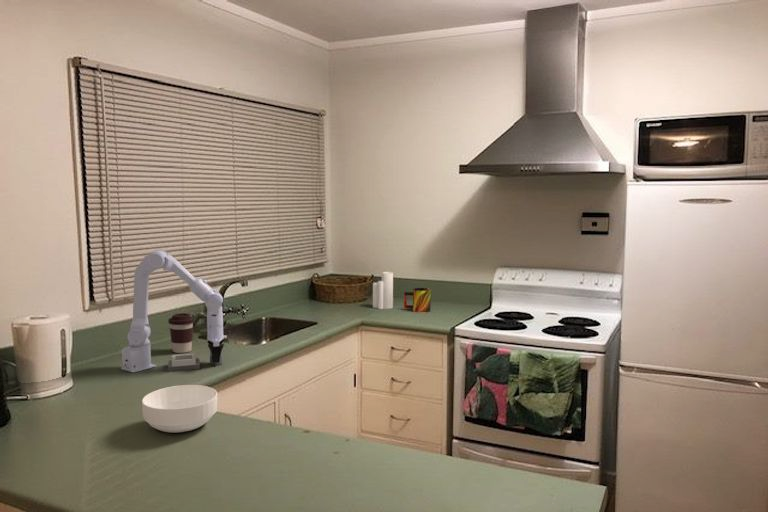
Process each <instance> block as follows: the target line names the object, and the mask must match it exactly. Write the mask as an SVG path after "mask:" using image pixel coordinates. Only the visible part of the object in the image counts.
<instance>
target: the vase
mask: <svg viewBox="0 0 768 512" xmlns="http://www.w3.org/2000/svg"><path fill="white" fill-rule="evenodd" d="M372 308H374V309H378V310H383V309H385V310H388V309H393V308H394V272H393V271H381V280H378V281H377V282H373V283H372Z"/></svg>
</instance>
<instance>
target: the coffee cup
mask: <svg viewBox="0 0 768 512" xmlns="http://www.w3.org/2000/svg"><path fill="white" fill-rule="evenodd" d="M194 323H195V317H193V316H191V314H190V313H183V312H182V313H181V312H180V313H175V314H173V315H171V317H170V318H168V324H169V326H170V327H169V330H170V331H169V332H170V342H171V346H172V347H171V348H172V349H171V350H172V352H173V353H174V354H175V353H176V354H187V353H189V352H191V351H192V347H193V346H192V344H193V340H194V339H193V337H194V332H193V331H194V326H193V325H194Z"/></svg>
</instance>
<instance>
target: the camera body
mask: <svg viewBox="0 0 768 512" xmlns="http://www.w3.org/2000/svg"><path fill="white" fill-rule="evenodd" d="M200 359H201V358H200V356H198V355H197V356H196V353H181V354H172V356H171V360H168V363H167V372H168V373H169V372H178V371H191V370H200V369H201V361H200Z"/></svg>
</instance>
